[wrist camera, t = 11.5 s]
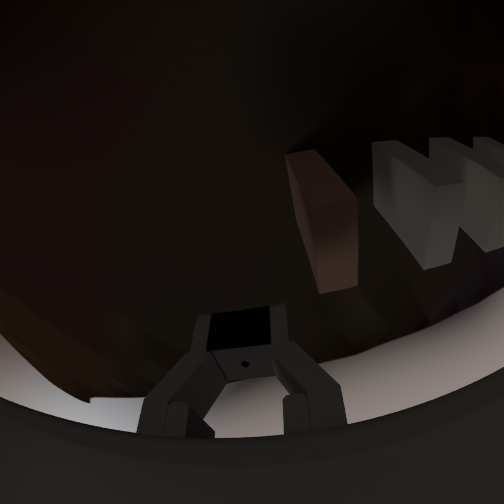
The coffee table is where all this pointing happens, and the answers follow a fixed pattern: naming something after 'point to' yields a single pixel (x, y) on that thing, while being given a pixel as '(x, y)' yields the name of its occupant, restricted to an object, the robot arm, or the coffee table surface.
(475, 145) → the domino
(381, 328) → the coffee table surface
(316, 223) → the domino
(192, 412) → the robot arm
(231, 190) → the coffee table surface
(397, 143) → the domino
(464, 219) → the domino
